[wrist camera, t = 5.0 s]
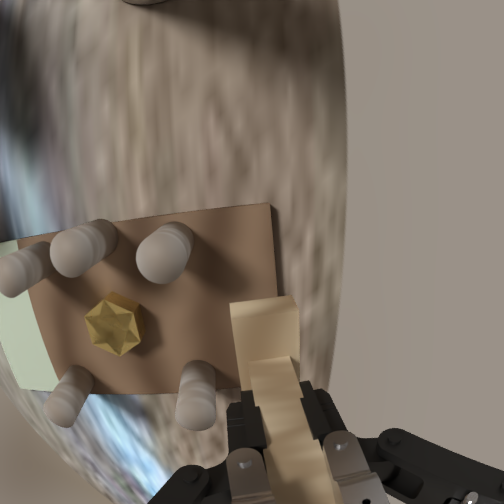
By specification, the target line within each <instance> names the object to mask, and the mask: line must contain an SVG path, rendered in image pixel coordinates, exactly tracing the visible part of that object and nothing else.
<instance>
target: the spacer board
mask: <svg viewBox="0 0 504 504" xmlns="http://www.w3.org/2000/svg"><path fill="white" fill-rule="evenodd" d="M17 245H18V251H15V252H13V253H11V254H8V255H6V256H3V257H1V258H0V292H1V293H2V294H3V295H4V296H6V297H8V298H15V297H17V296H18V295H20V294H21V293H23V292H24V291H26V290H28V294H29V297H30V301H31V304H32V308H33V311H34V315H35V318H36V321H37V324H38V327H39V330H40V333H41V336H42V339H43V342H44V345H45V347H46V350H47V353H48V356H49V358H50V361H51V363H52V366H53V368H54V371H55V373H56V376H57V378H58V380H59V383H58V384H57V386H56V387H55V388H54V390H53V391H52V393H51V394H50V396H49V397H48V399H47V400H46V402H45V403H44V405H43V409H44V412H45V414H46V416H47V417H48V418H49V419H50V420H51V421H52V422H53V423H55V424H56V425H58V426H61V427H65V428H69V427H71V426H73V424H74V422H75V420H76V418H77V416H78V414H79V412H80V410H81V408H82V407H83V405H84V403H85V401H86V399H87V397H88V395H89V394H158V393H178V399H177V405H176V412H175V418H176V420H177V422H178V423H179V424H180V425H181V426H182V427H184V428H186V429H189V430H193V431H202V430H206V429H208V428H210V427H211V426H213V424H214V423H215V420H216V390H217V389H227V388H236V387H241V383H240V377H239V370H238V363H237V357H236V350H235V343H234V337H233V330H232V323H231V314H230V304H229V303H235V302H243V301H251V300H258V299H266V298H273V297H278V294H277V281H276V269H275V256H274V244H273V233H272V221H271V210H270V203H260V204H250V205H241V206H232V207H223V208H214V209H206V210H198V211H190V212H182V213H174V214H167V215H159V216H152V217H145V218H138V219H131V220H124V221H118V222H109V221H108V220H105V219H97V220H94V221H91V222H88V223H85V224H82V225H79V226H76V227H73V228H70V229H67V230H63V231H58V232H52V233H47V234H41V235H36V236H31V237H26V238H21V239H18V240H17ZM111 291H113V292H115V293H117V294H119V295H122V296H124V297H126V298H128V299H131V300H133V301H135V302H137V303H139V304H140V309H141V313H142V318H143V322H144V326H145V330H146V331H145V334H144V336H143V338H142V340H141V342H140V343H138V344H137V345H136V346H134V347H133V348H131V349H130V350H129V351H127V352H126V353H124V354H123V355H121V356H120V357H119V356H117V355H115V354H113V353H110V352H108V351H106V350H104V349H102V348H99V347H97V346H95V345H93V344H92V341H91V338H90V335H89V332H88V328H87V325H86V321H85V318H84V316H85V315H86V314H87V313H88V312H89V310H90V309H91V308H92V307H93V306H95V305H96V304H97V303H98V302H99V301H100V300H102V299H103V298H104V297H105V296H106V295H108V294H109V293H110V292H111Z"/></svg>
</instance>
